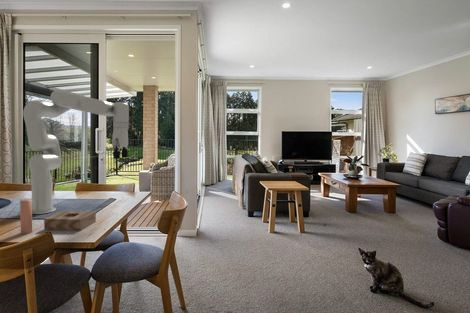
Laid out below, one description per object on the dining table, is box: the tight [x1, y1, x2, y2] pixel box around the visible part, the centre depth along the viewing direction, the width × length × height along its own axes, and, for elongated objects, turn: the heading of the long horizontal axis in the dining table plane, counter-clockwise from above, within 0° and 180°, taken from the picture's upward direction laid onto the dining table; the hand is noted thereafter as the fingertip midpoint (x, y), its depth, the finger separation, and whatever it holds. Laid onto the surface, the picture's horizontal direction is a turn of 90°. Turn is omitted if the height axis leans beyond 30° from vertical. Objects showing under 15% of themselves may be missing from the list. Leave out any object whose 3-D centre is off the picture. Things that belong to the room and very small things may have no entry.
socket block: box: [43, 210, 96, 232], centre depth 135 cm, size 16×14×5 cm
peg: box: [19, 198, 33, 235], centre depth 124 cm, size 4×4×14 cm
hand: (120, 158), depth 155 cm, fingers open, 9 cm apart
